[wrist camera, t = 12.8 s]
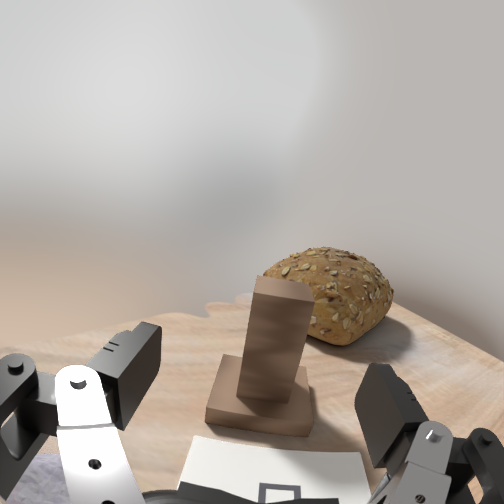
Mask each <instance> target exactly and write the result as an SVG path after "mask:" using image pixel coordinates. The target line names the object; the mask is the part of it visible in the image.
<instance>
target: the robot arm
mask: <svg viewBox="0 0 504 504" xmlns="http://www.w3.org/2000/svg"><path fill="white" fill-rule="evenodd" d="M161 340H162V328H161V326H157V325H154V324H150V323H146V322H141V323H140V324H139V325H138V326H137V327H136V328H135V329H134V330H133V331H128V330H126V331H123V332H121V333H118V334H116V335H115V336H114V337H113V338H112V339H111V340H110V341H109V343H107V344H106V345H105V346H104V347H103V349H101V350H100V351H99V352H98V353H97V354H96V355H95V356H94V357H93V358H92V359H91V360H90V361H89V362H88V363H87V364H86V365H85V366H84V367H83V366H71V367H67V368H65V369H63V370H61V371H60V372H59V373H58V375H53V374H48V373H43V372H39V371H37V370H36V366H35V362H34V361H33V359H32V358H30V357H29V356H27V355H24V354H10V355H7V356H5V357H3V358H2V359H1V360H0V504H7V503H6V500H7V498H8V497H9V495H10V494H11V492H12V490H13V489H14V487H15V486H16V484H17V483H18V481H19V480H20V478H21V477H22V475H23V473H24V472H25V470H26V469H27V467H28V466H29V464H30V463H31V462H32V460H33V459H34V457H35V456H36V454H37V453H38V451H39V450H40V448H41V447H42V445H43V444H44V443H45V441H46V440H47V438H48V437H49V436H50V435H51V436H56V437H58V442H59V448H60V455H61V460H62V465H63V471H64V475H65V480H66V484H67V488H68V492H69V496H70V500H71V504H339V498H300V499H294V500H287V501H280V502H272V503H258V502H254V501H251V500H248V499H245V498H242V497H239V496H237V495H234V494H231V493H228V492H226V491H223V490H220V489H215V488H210V487H205V486H200V485H196V484H192V483H188V482H183V481H180V485H179V488H178V490H155V491H149V492H143V493H141V492H140V489H139V487H138V485H137V483H136V480H135V478H134V476H133V473H132V471H131V468H130V466H129V464H128V461H127V458H126V456H125V453H124V451H123V448H122V445H121V442H120V439H119V437H118V434H117V431H116V428H117V429H120V430H122V431H124V430H125V428H126V426H127V425H128V423H129V421H130V419H131V418H132V416H133V414H134V413H135V411H136V409H137V408H138V406H139V404H140V403H141V401H142V399H143V397H144V396H145V394H146V392H147V391H148V389H149V387H150V386H151V384H152V382H153V381H154V379H155V377H156V376H157V374H158V371H159V367H160V362H161ZM412 393H413V392H412V391H411V389H410V387H409V386H408V384H407V383H406V382H404V381H403V380H402V379H401V378H400V377H397V375H396V374H395V372H394V370H393V369H392V367H391V366H390V365H389V364H377V363H371V364H370V365H369V367H368V369H367V371H366V373H365V376H364V378H363V380H362V383H361V385H360V387H359V389H358V392H357V394H356V397H355V410H356V413H357V416H358V419H359V422H360V425H361V429H362V432H363V435H364V438H365V441H366V444H367V448H368V451H369V454H370V457H371V461H372V464H373V467H374V468H387V472H386V473H385V475H384V476H383V477H382V479H381V481H380V483H379V484H378V486H377V488H376V489H375V491H374V493H373V494H372V496H371V498H370V499H369V501H368V502H367V504H475V501H474V499H473V496H472V494H471V492H470V489H469V487H468V485H467V484H468V483H469V482H470V481H471V480H472V479H473V478H474V477H475V476H476V477H477V479H478V481H479V483H480V485H481V487H482V489H483V497H482V500H481V501H480V503H479V504H504V447H503V445H502V444H501V442H500V441H499V439H498V438H497V436H496V435H495V434H494V433H493V432H491V431H490V430H488V429H485V428H476V429H474V430H473V431H472V432H471V434H470V435H469V437H468V438H467V439H465V438H456V437H453V435H452V433H451V431H450V430H449V429H448V428H447V427H446V426H445V425H443V424H441V423H439V422H436V421H429V419H428V417H427V416H426V414H425V412H424V410H423V409H422V407H421V405H420V404H419V402H418V401H416V397H415V396H414V394H412ZM12 412H14V414H13V415H12V417H11V418H10V419H9V420H8V421H7V422H6V423H5V425H4V426H3V427H2V428H1V426H2V423H3V422H4V421H5V420H6V418H7V417H8V416H9V415H10V414H11V413H12Z"/></svg>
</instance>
